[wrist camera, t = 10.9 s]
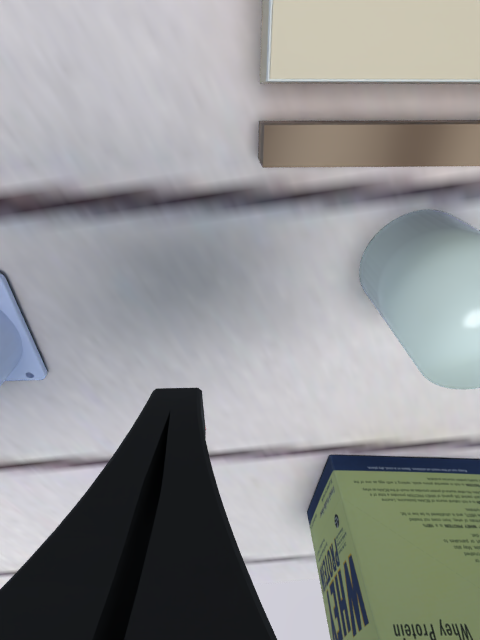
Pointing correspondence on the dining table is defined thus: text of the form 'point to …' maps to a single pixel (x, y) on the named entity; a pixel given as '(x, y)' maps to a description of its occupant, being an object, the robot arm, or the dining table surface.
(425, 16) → the beige rectangular block
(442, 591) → the protein box
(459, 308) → the dome-topped pale cylinder
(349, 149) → the brown square frame
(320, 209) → the dining table surface
